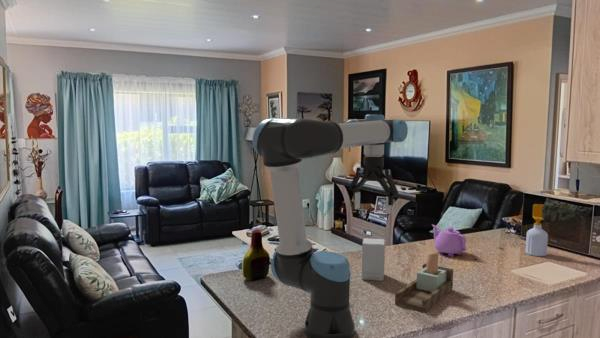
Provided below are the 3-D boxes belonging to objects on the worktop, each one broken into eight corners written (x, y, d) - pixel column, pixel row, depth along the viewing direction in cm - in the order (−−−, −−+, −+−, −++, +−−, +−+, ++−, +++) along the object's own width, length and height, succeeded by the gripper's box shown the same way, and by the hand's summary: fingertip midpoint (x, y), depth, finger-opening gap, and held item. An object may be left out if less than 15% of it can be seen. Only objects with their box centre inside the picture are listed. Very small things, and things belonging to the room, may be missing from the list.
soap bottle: (527, 255, 215) (530, 204, 212) (524, 250, 224) (526, 201, 221) (548, 257, 212) (551, 205, 210) (544, 252, 221) (547, 202, 218)
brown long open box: (425, 312, 150) (426, 289, 149) (394, 304, 157) (395, 282, 156) (452, 289, 171) (453, 269, 170) (424, 283, 177) (425, 263, 177)
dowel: (434, 284, 165) (435, 255, 164) (424, 282, 168) (425, 253, 167) (438, 281, 168) (440, 253, 167) (428, 279, 171) (429, 251, 170)
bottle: (266, 273, 188) (266, 226, 186) (273, 278, 182) (273, 229, 180) (239, 278, 182) (239, 229, 180) (245, 283, 176) (245, 233, 174)
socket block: (436, 293, 162) (437, 277, 162) (416, 288, 167) (416, 272, 167) (445, 286, 170) (446, 270, 169) (425, 281, 174) (426, 266, 174)
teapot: (421, 250, 223) (422, 225, 222) (440, 245, 231) (441, 221, 230) (456, 260, 207) (457, 233, 206) (475, 255, 215) (476, 229, 214)
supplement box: (383, 281, 179) (384, 244, 178) (361, 279, 181) (361, 243, 179) (384, 274, 188) (385, 238, 187) (362, 272, 190) (363, 237, 188)
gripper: (408, 157, 165) (406, 214, 167) (351, 153, 181) (350, 205, 183) (398, 158, 159) (397, 217, 162) (340, 154, 175) (339, 208, 178)
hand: (372, 211), depth 172 cm, fingers open, 13 cm apart
